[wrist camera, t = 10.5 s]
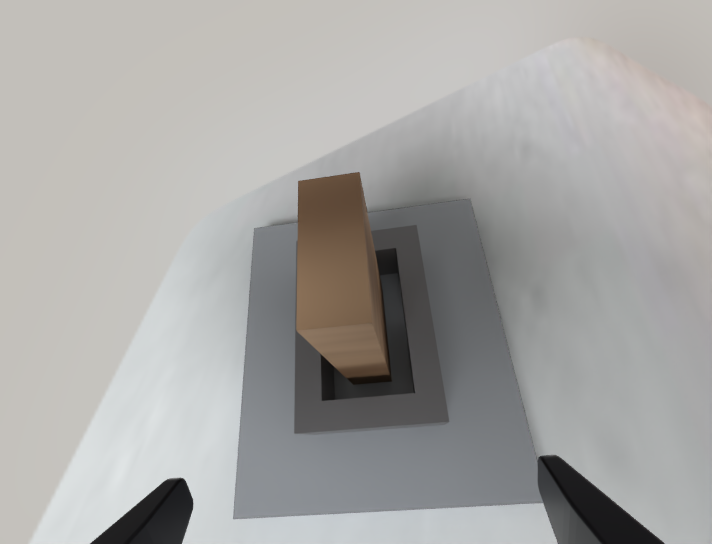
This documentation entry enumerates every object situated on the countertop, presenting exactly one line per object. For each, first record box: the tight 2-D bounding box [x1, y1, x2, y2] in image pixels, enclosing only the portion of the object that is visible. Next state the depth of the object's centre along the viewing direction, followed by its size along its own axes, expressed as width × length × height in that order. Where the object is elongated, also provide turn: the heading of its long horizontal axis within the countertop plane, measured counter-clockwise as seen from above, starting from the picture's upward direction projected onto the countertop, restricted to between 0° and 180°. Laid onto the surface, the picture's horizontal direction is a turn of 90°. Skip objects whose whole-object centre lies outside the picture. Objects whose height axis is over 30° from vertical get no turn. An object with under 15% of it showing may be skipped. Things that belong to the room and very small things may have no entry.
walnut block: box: [296, 172, 392, 385], centre depth 15 cm, size 5×2×10 cm, turn 3°
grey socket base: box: [233, 199, 543, 519], centre depth 19 cm, size 16×14×4 cm
